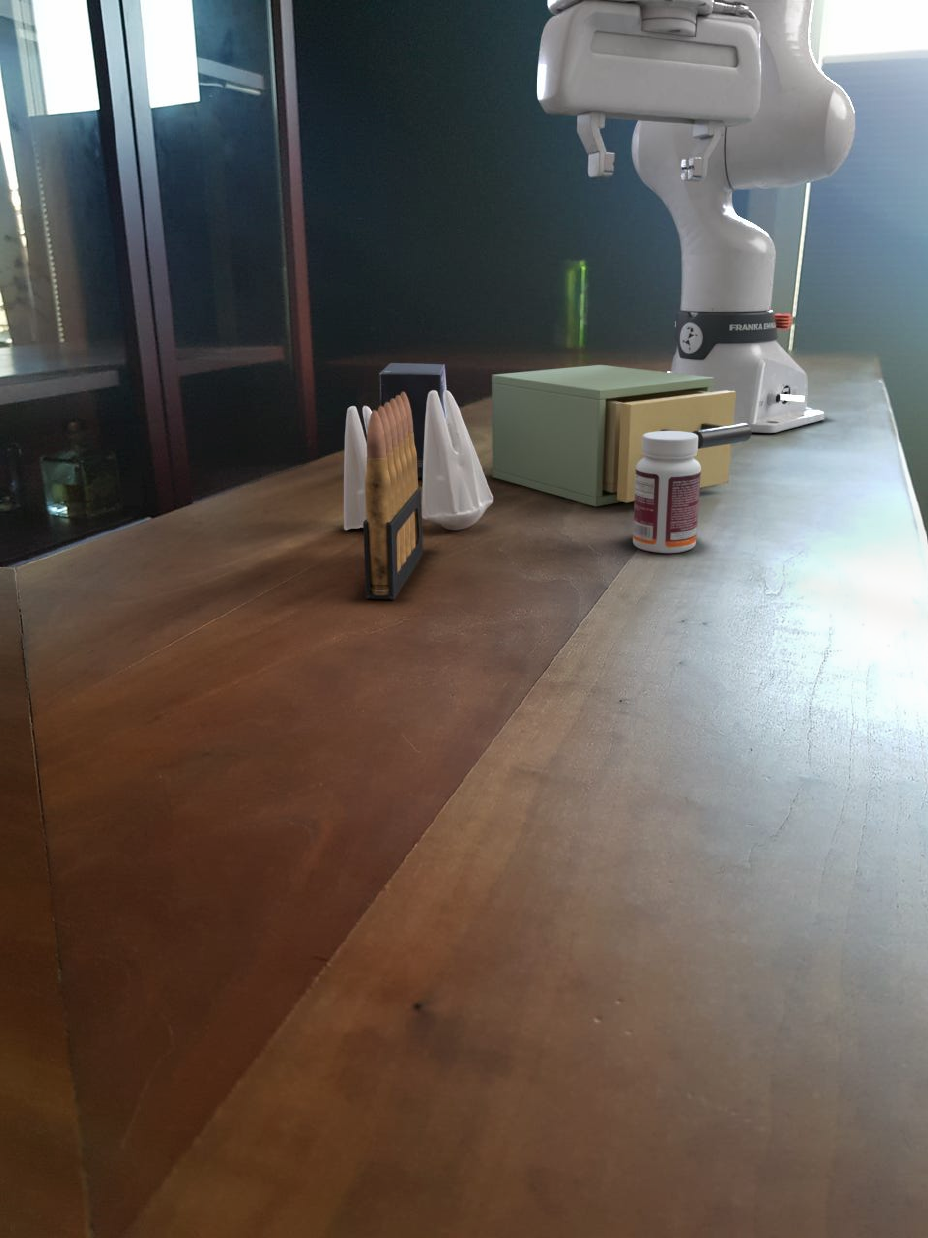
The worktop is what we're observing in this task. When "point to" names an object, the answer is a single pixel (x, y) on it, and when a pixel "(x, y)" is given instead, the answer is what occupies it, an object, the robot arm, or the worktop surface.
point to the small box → (413, 394)
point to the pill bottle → (667, 492)
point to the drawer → (669, 413)
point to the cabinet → (566, 424)
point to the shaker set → (425, 468)
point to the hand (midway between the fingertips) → (647, 178)
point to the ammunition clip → (391, 501)
